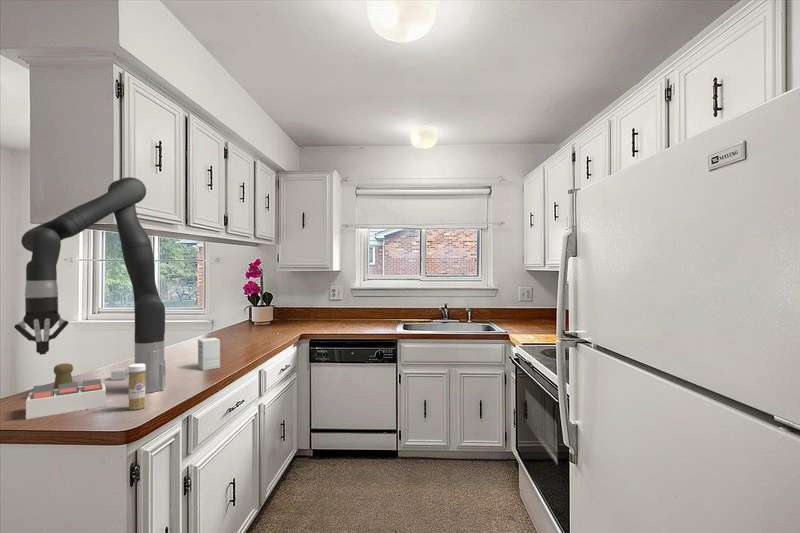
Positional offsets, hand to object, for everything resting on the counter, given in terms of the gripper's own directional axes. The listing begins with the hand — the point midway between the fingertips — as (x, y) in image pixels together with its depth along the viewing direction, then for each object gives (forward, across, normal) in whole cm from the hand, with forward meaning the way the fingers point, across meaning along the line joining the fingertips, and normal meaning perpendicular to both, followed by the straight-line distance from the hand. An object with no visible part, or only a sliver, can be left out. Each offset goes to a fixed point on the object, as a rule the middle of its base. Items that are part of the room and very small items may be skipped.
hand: (42, 353), depth 129 cm
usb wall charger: (+18, -22, -36) cm, 46 cm away
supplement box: (+19, -54, -35) cm, 67 cm away
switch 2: (+13, -12, -3) cm, 18 cm away
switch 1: (+13, 0, -3) cm, 13 cm away
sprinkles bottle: (+18, -23, +10) cm, 31 cm away
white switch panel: (+18, -6, -3) cm, 19 cm away
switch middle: (+13, -6, -3) cm, 14 cm away
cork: (+18, -4, -20) cm, 27 cm away
